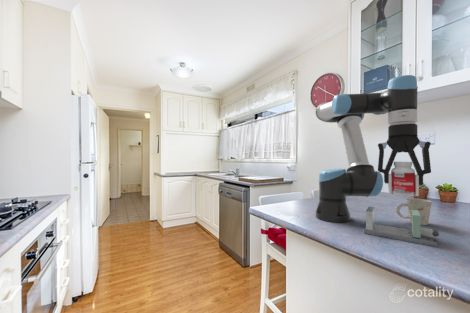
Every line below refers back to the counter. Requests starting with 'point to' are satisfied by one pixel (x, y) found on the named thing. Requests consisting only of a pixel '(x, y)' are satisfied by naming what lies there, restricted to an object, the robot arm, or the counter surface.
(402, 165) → the pill bottle
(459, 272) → the counter surface
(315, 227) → the counter surface
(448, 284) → the counter surface
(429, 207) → the mug
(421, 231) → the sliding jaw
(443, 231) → the counter surface
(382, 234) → the vise base
